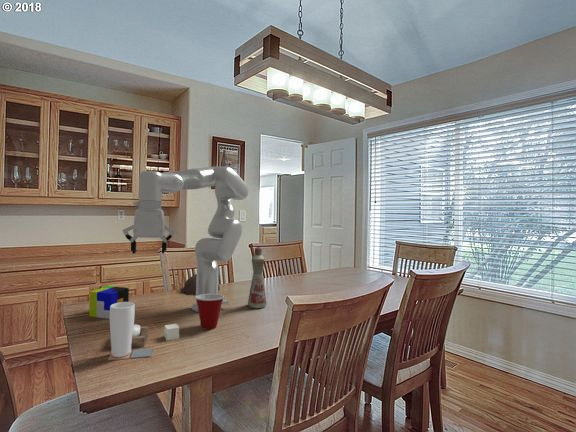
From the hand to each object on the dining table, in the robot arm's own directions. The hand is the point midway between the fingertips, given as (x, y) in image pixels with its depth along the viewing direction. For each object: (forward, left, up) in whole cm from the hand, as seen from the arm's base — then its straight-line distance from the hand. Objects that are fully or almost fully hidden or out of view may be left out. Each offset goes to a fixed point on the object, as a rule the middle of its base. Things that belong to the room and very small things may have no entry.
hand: (148, 253), depth 116 cm
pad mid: (-1, +19, -28) cm, 34 cm away
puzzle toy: (+17, -22, -29) cm, 40 cm away
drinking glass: (+5, +19, -28) cm, 34 cm away
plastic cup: (-22, 0, -28) cm, 36 cm away
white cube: (-9, +8, -28) cm, 31 cm away
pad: (+5, +19, -28) cm, 34 cm away
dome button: (+4, +9, -28) cm, 29 cm away
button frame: (+4, +9, -28) cm, 30 cm away
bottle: (-45, -22, -28) cm, 58 cm away
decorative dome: (-21, -54, -29) cm, 65 cm away
